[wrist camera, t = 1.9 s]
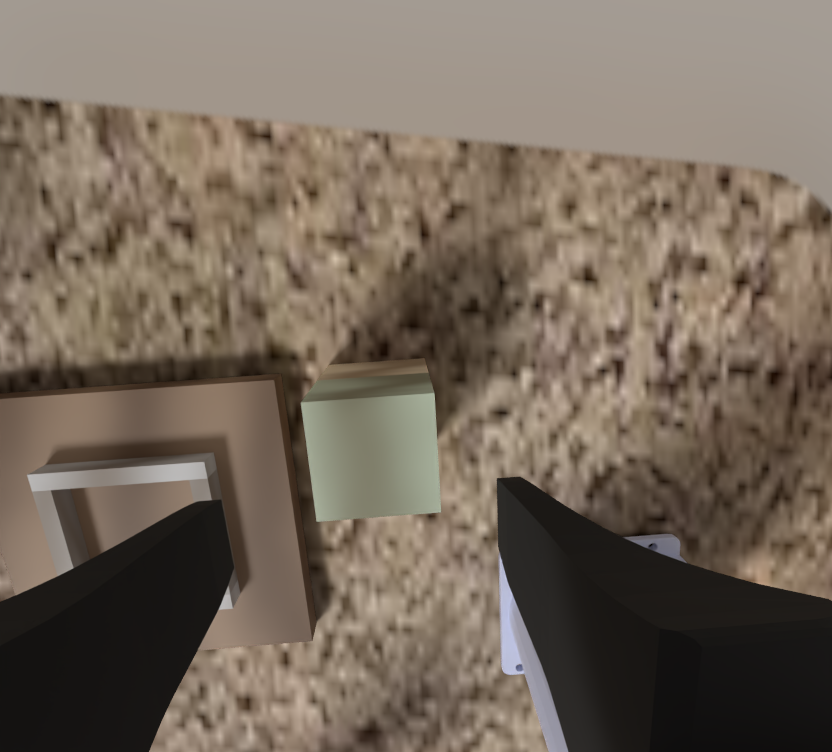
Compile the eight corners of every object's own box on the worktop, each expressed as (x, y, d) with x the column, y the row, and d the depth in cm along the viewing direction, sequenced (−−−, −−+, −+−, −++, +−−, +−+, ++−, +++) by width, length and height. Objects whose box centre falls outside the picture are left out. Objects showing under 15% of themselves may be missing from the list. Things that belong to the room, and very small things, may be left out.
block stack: (424, 358, 20) (434, 392, 15) (429, 446, 22) (441, 512, 16) (329, 364, 20) (300, 402, 15) (339, 453, 21) (316, 521, 16)
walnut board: (281, 373, 20) (267, 385, 18) (316, 622, 24) (308, 657, 22) (-23, 394, 20) (-74, 409, 18) (56, 643, 23) (21, 681, 21)
